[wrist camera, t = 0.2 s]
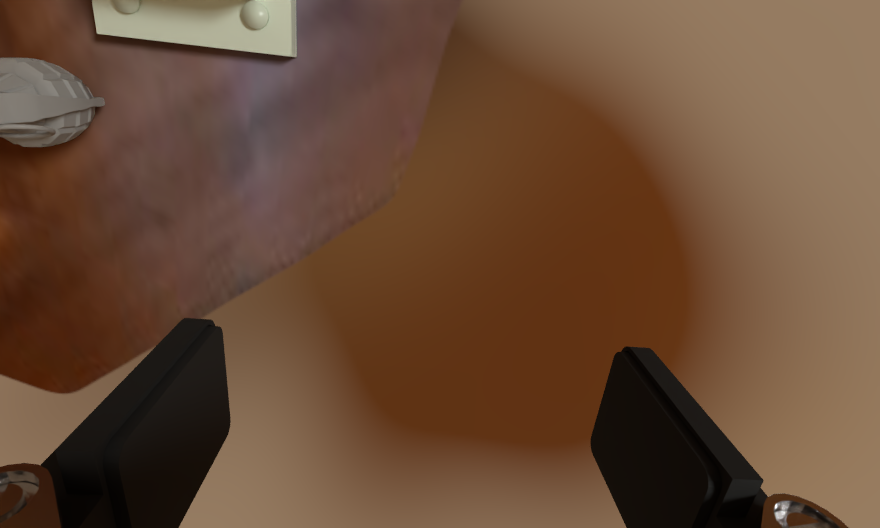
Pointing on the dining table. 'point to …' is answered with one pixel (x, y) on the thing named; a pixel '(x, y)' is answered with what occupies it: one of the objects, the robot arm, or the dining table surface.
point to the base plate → (204, 23)
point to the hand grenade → (42, 103)
